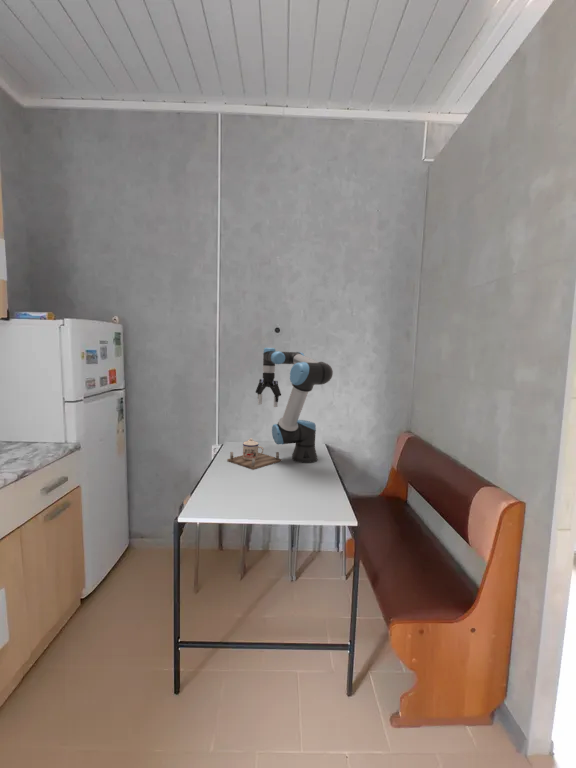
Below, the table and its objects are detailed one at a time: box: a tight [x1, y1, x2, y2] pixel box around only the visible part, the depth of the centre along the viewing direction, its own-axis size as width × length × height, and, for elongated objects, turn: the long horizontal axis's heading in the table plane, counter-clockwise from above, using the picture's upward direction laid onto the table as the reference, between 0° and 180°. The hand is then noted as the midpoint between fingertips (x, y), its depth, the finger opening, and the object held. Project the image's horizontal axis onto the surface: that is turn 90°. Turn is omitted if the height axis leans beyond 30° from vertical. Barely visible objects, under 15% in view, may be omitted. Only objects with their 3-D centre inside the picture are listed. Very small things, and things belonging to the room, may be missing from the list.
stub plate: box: [226, 451, 283, 471], centre depth 225 cm, size 21×23×5 cm
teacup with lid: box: [242, 438, 264, 460], centre depth 225 cm, size 12×9×12 cm
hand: (267, 405), depth 248 cm, fingers open, 13 cm apart
